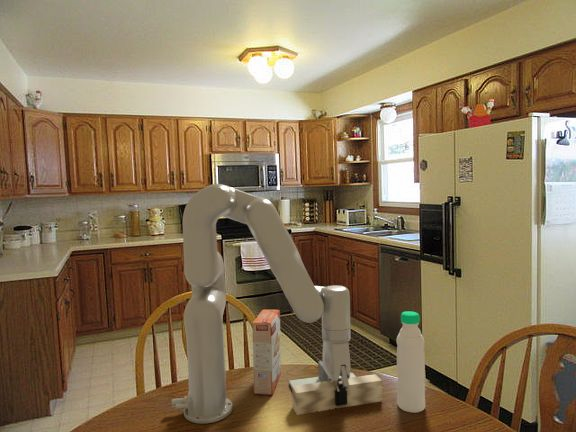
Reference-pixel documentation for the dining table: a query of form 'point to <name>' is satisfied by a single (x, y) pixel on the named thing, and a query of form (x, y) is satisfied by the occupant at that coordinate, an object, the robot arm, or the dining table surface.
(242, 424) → the dining table surface
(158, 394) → the dining table surface
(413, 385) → the water bottle
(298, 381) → the stand
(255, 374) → the cracker box
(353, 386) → the birch bar
